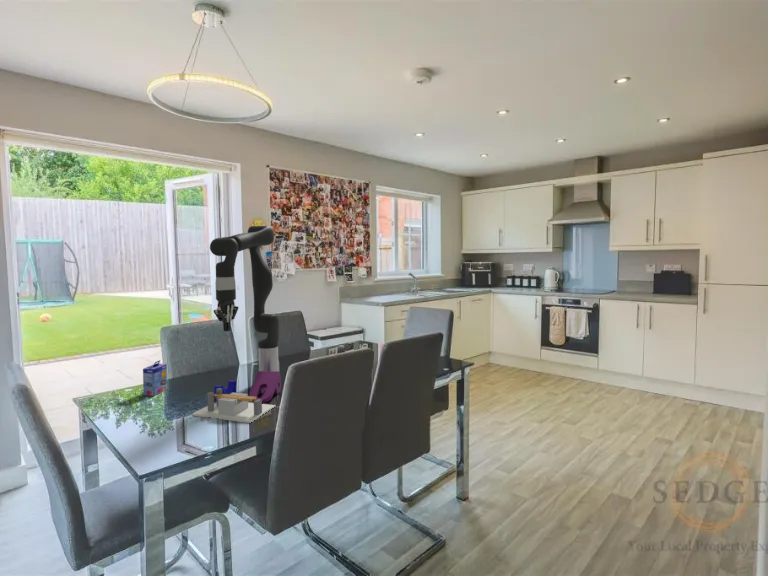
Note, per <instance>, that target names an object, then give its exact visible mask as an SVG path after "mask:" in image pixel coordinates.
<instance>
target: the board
mask: <svg viewBox="0 0 768 576" xmlns="http://www.w3.org/2000/svg"><path fill="white" fill-rule="evenodd" d="M216 393H219V394H222V389H221V388H217V389H216ZM230 395H241V396H249V394H248V393H241V392H236V393H232V394H230ZM206 397H207V405H206V406H204V407H203V408H201V409H199V410H197V411H195V412H193V413H192V416H193V417H203V418H208V417H211V419H215V418H219V419H218V420H226V421H230V422H231V421H232V422H240V423H248V424H251V422H252V423H253V422H254V420H255V421H256V420H258V419H260V418H261V417H263V416H264V415H266V414H267V413H269V412H270V411H272V410H273V409H272V408H274V407H275V408H276V404H268V403H263V404H262V399H257V400H256V401H254V403H252V402H249V401H239V400H236V399H227V398H221V399H217V398H216V399H217V401H214V391H212V392H211V391H209V392H207V393H206ZM275 408H274V409H275ZM271 409H272V410H271ZM269 410H270V411H269ZM268 411H269V412H268ZM266 412H267V413H266ZM265 413H266V414H265ZM263 414H264V415H263ZM262 415H263V416H262ZM260 416H261V417H260Z"/></svg>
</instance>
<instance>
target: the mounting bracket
mask: <svg viewBox="0 0 768 576" xmlns="http://www.w3.org/2000/svg"><path fill="white" fill-rule="evenodd" d="M264 391H265V392H264ZM281 391H282V377H281V371H280V370H279V371H259V370H258V373H257V375H256V377H255V380H254V382H253V384H252V386H251V389H250V391H249V394H248V396H253V397H256V400H257V399H262V403H263V404H266V403H268V402H270V400H272V399H273V396H274V395H279V394H280V393H281ZM263 392H264V393H263ZM279 392H280V393H279ZM262 393H263V394H262ZM278 393H279V394H278ZM259 395H262V396H261V397H259ZM256 400H254V401H256ZM254 401H253V402H251V403H254ZM265 402H266V403H265Z"/></svg>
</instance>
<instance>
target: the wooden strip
mask: <svg viewBox="0 0 768 576" xmlns="http://www.w3.org/2000/svg"><path fill="white" fill-rule="evenodd" d="M214 398H217V399H221V398H227V399H236V400H239V401H248V402H251V403H252V402H253V401H254V400H256V397H253V396H250V395H248V396H241V395H230V394H219V393H216V394H214Z"/></svg>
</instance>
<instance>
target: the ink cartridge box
mask: <svg viewBox="0 0 768 576" xmlns="http://www.w3.org/2000/svg"><path fill="white" fill-rule="evenodd" d="M167 374H168V373H167V363H161V360H158V361H155V362H154V364H151V365H149V366H147V367H144V368H143V369H142V385H143V386H142V387H143V389H142V390H143V393H142V394H143V396H149V397H150V396H151V397H155V396H157V395H160V394H161V393H163V392H165V391H167V387H168V385H167V383H168V382H167V380H168V379H167Z"/></svg>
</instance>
